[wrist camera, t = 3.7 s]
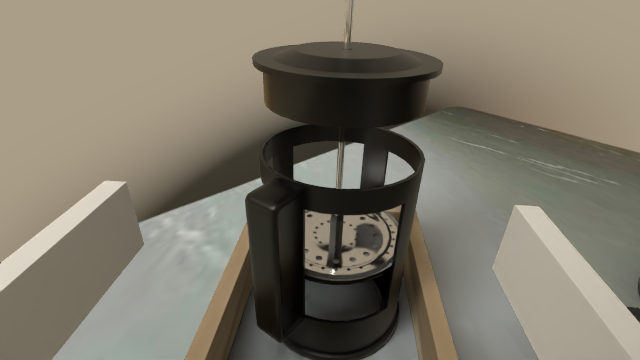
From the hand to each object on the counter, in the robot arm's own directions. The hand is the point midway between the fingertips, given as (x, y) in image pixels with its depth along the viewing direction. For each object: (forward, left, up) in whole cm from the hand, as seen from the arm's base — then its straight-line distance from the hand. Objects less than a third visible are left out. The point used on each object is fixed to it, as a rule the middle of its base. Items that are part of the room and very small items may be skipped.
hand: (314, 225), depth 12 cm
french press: (-1, -7, -13) cm, 15 cm away
